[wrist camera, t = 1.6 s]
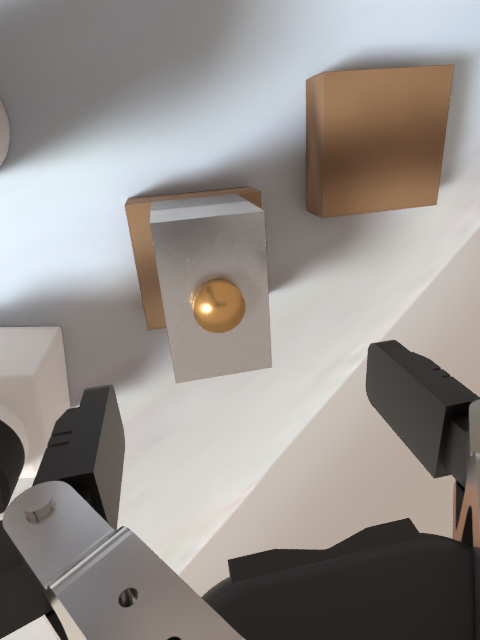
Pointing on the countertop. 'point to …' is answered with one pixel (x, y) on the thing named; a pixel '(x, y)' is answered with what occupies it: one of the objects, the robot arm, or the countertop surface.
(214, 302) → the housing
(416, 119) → the stand
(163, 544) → the countertop surface
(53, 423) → the medicine bottle
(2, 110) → the coffee cup
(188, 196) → the stand
